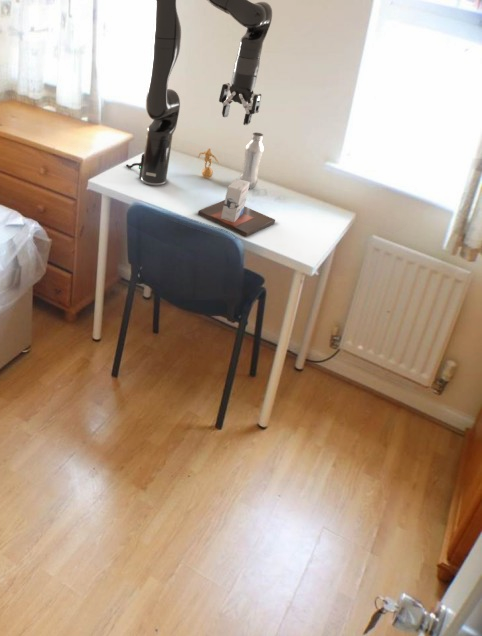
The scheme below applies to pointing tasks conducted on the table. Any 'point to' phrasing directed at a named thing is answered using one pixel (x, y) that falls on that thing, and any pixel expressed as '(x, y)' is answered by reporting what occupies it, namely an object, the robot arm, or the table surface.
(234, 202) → the ink box
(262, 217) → the counter board
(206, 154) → the figurine
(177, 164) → the table surface
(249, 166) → the plastic bottle
